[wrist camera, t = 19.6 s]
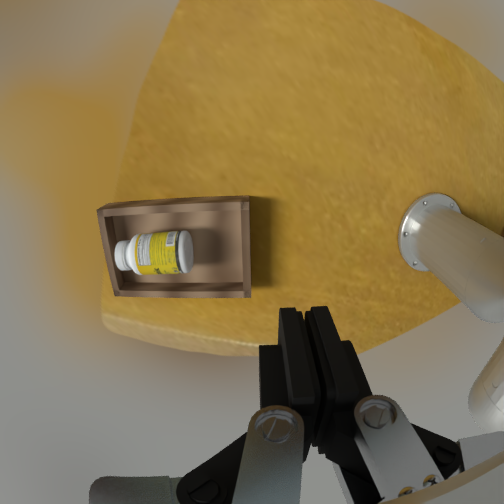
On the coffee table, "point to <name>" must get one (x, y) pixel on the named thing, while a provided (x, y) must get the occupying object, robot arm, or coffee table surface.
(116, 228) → the tray
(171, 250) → the supplement bottle
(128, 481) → the robot arm
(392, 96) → the coffee table surface
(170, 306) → the coffee table surface
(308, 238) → the coffee table surface
